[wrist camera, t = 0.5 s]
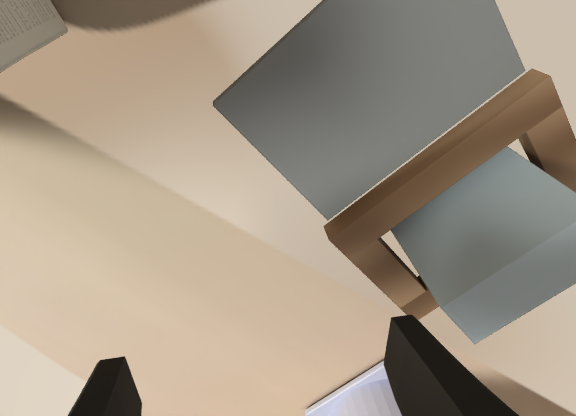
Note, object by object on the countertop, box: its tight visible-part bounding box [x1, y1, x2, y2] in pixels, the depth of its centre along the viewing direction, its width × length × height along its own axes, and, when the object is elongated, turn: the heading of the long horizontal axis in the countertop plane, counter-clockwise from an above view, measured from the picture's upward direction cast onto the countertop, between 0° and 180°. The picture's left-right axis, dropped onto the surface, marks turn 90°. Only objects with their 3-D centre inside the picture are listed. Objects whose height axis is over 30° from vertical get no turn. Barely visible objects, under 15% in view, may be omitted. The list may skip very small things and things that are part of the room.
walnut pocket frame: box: [324, 69, 576, 320], centre depth 22 cm, size 9×12×1 cm
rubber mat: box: [213, 0, 525, 220], centre depth 18 cm, size 8×11×1 cm
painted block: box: [391, 146, 576, 344], centre depth 20 cm, size 4×7×6 cm, turn 129°
